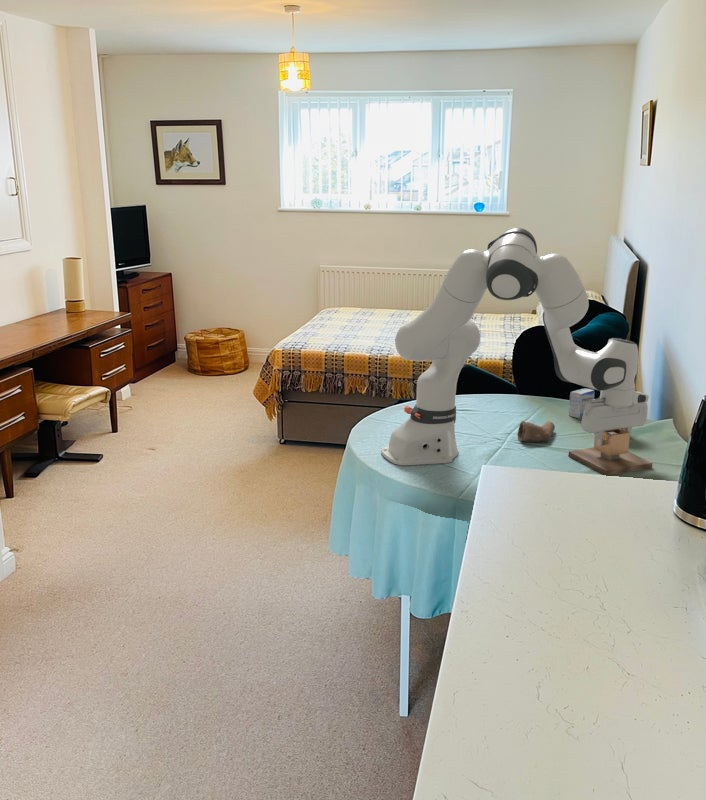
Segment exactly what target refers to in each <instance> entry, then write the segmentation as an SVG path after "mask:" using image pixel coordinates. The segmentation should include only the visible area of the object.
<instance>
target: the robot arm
mask: <svg viewBox="0 0 706 800" xmlns="http://www.w3.org/2000/svg"><path fill="white" fill-rule="evenodd" d="M536 241H537V240H536V239H535V237H534V235H533V234H532V233H531V232H530V231H529V230H527V229H525V228H521V227H514V228H511V229H508V230H506V231H504V232H503V233H501V234H500V235H499V236H498V237H497V238H495V239H494V240H492V241H490V242H489V243H488V245H487V250H485V251H481V250H479V249H473V248H470V249H466V250H464V251H462V252H461V253H459V255H457V257H456V258H455V260H454V261H453V263H452V264H451V266H450V268H449V269H448V271H447V272H446V274H445V276H444V279H443V281H442V283H441V285H440V287H439V289H438V292H437V293H436V295H435V296H434V299H433V300H432V302H431V303H430V304H429V305H428V306H427V307H426V308H425V309H424V311H422V313H420V314H419V315H418V316H417V317H415V318H414V319H412V320H411V321H409V322H408V323H406V324H404V325H402V326H400V327H399V328H398V330H397V332H396V334H395V338H394V339H395V341H394V343H395V344H394V345H395V349H396V352H397V353H398V355H399V356H400V357H401V358H402V359H403V360H405V361H411V362H428V361H429V362H430V361H432V363H431V364H430V366H429V367H428V368H427V369H426V370H425V371H423V372H422V373H421V374H420V375H419V376H418V378H417V381H416V401H415V402H416V403H415V404H414V406H413V408H412V407H410V406H409V405H406V406H404V408H403V411H404V412H405V413H406V414H407V415H410V418H408V419H407V420H406V421H404V422H403V423H402V424H401V425H399V427H397V428H395V429H394V430H393V431H392V432H391V434H390V437H389V442H388V443H389V444H388V445H386V446H383V447H381V451H380V452H381V455H382V456H383V458H384V459H386V460H387V461H389V462H391V463H392V464H395V465H399V466H417V465H435V464H451V463H452V462H453V459H454V458H456V457H457V456H458V455H459V451H458V450H459V449H458V446H457V439H456V430H455V429H456V428H455V424H456V420H457V419H456V418H457V405H456V393H457V383H458V379H459V375H460V373H461V370H462V368H463V366H464V365H465V364H466V362H467V361H468V358H469V357H470V356H471V355H472V354H474V353H475V352H476V351H477V350H478V348H479V346H480V342H481V334H480V333H481V332H480V329H479V328H478V326H477V324H476V323H475V322H474V321H472V320H471V319H472V318H473V316H474V314H475V312H476V310H477V308H478V306H479V304H480V303H481V301H482V299H483V296H484V295H485V293H486V290H487V289H488V291H489V293H490V295H491V296H493V297H494V298H496V299H498V300H502V301H513V300H518V299H520V298H525V297H526V298H527V297H530V296H532V295H533V294H534V293H535V294H536V296H537V299H538V300H539V302H540V305H541V307H542V310H543V313H542V323H543V327H544V329H545V333H546V336H547V339H548V342H549V345H550V348H551V351H552V357H553V365H554V371H555V374H556V376H557V377H558V378H559V380H561V381H563V382H566V383H572V384H576V385H579V386H581V387H584V388H587V389H591V390H594V391H595V390H596V391H599V392H600V395H599V397H598V398H594V399H591V400H590V401H589V402H588V403H587V404H586V405H585V410H584V413H583V417H582V418H581V423H580V427H581V429H582V430H583V431H585V432H586V433H589V434H592V433H593V434H594V438H595V437H596V438H597V439H596V444H597V445H598V446H602V445H604V444H605V443H604V442H605V440H604V439H602V437H601V435H602V434H603V431H608V430H615V429H622V428H623V430H625V431H627V432H630V433H631V432H632V430H633V428H635V427H640V426H641V427H642V426H644V425H645V424H646V422H647V418H648V409H649V408H648V404H647V403H648V401H649V397H650V396H649V395H648V394H645V393H644V392H641V391H638V390H636V389H635V388H636V383H635V380H636V379H635V378H636V376H637V372H638V365H639V348H638V344H637V343H635V342H634V341H631V340H627V339H623V338H619V337H611V338H609V339H608V341H607V344H606V345H605V346H604V347H602V349H600V350H598V351H595V352H594V351H590V350H589V349H584V348H582V347H580V346H578V345H577V344H575V341H574V339H573V336H572V333H571V329H570V327H573V326H574V325H575V324H578V323H579V322H580V321H581V320H582V319H583V318H584V317H585V315H586V313H587V312H588V310H589V306H590V304H589V303H590V302H589V298H588V293H587V291H586V289H585V286H584V284H583V282H582V279H581V278H580V276H579V274H578V272H577V271H576V269H575V267H574V266H573V264H572V263H571V261H569V259H568V257H566V255H564V254H561V253H557V252H556V253H555V252H554V253H553V252H552V253H548V254H546V255H545V254H544V255H537V254H538V245H537V242H536Z"/></svg>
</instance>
